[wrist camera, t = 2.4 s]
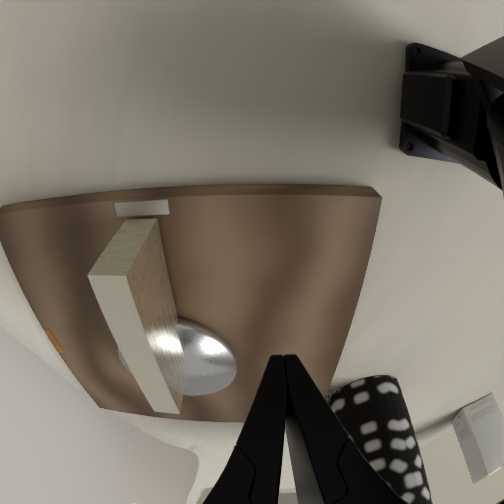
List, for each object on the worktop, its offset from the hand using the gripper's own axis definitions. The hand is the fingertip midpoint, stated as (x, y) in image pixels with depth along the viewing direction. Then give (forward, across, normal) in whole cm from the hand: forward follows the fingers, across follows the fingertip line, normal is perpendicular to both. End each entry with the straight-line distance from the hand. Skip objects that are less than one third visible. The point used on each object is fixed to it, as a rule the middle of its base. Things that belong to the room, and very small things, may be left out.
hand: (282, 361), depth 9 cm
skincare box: (+10, -40, +37) cm, 56 cm away
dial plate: (+9, +7, +10) cm, 15 cm away
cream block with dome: (+7, +7, +7) cm, 12 cm away
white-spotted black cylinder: (+10, -11, +21) cm, 26 cm away
